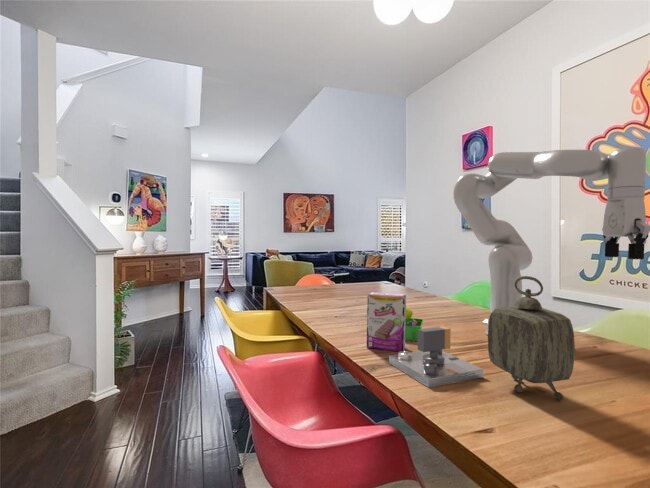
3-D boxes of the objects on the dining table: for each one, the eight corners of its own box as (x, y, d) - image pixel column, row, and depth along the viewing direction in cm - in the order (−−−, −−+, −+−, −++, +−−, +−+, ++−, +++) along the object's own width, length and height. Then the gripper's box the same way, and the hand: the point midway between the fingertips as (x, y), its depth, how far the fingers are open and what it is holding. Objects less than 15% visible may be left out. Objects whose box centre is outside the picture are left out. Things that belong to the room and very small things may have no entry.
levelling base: (388, 363, 89) (389, 348, 89) (437, 355, 95) (437, 341, 95) (428, 387, 74) (428, 369, 74) (482, 377, 80) (483, 360, 80)
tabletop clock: (574, 403, 67) (576, 279, 67) (539, 409, 65) (541, 280, 64) (514, 375, 81) (515, 272, 81) (483, 379, 78) (485, 273, 78)
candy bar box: (366, 348, 101) (366, 294, 100) (369, 343, 105) (370, 291, 105) (404, 352, 97) (404, 296, 97) (405, 347, 102) (406, 293, 102)
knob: (414, 359, 85) (414, 327, 85) (439, 355, 88) (440, 325, 88) (427, 366, 80) (427, 333, 80) (454, 362, 83) (454, 330, 83)
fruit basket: (421, 342, 107) (421, 307, 107) (393, 339, 110) (393, 305, 110) (423, 333, 118) (423, 301, 118) (397, 331, 121) (397, 299, 120)
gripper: (591, 198, 100) (589, 255, 100) (631, 191, 83) (628, 259, 83) (620, 198, 98) (618, 256, 99) (667, 190, 81) (664, 260, 82)
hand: (623, 258), depth 91 cm, fingers open, 9 cm apart
